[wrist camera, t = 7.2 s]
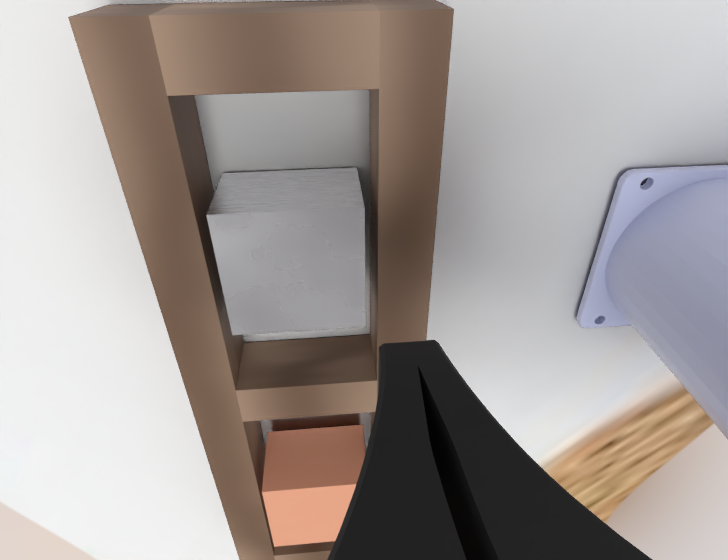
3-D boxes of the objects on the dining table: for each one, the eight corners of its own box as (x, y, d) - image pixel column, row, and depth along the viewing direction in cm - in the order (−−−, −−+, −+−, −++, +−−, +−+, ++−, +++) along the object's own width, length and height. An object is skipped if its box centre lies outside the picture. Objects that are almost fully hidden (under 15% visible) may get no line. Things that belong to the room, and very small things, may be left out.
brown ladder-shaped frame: (431, -2, 16) (454, 8, 13) (400, 513, 33) (407, 559, 30) (108, 4, 15) (68, 17, 12) (249, 526, 32) (244, 575, 30)
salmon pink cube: (362, 424, 26) (368, 483, 23) (363, 480, 29) (369, 537, 26) (267, 432, 25) (262, 492, 23) (278, 487, 28) (274, 546, 26)
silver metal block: (356, 167, 18) (364, 207, 16) (358, 276, 21) (365, 326, 18) (222, 173, 18) (206, 215, 15) (242, 283, 21) (232, 335, 18)
